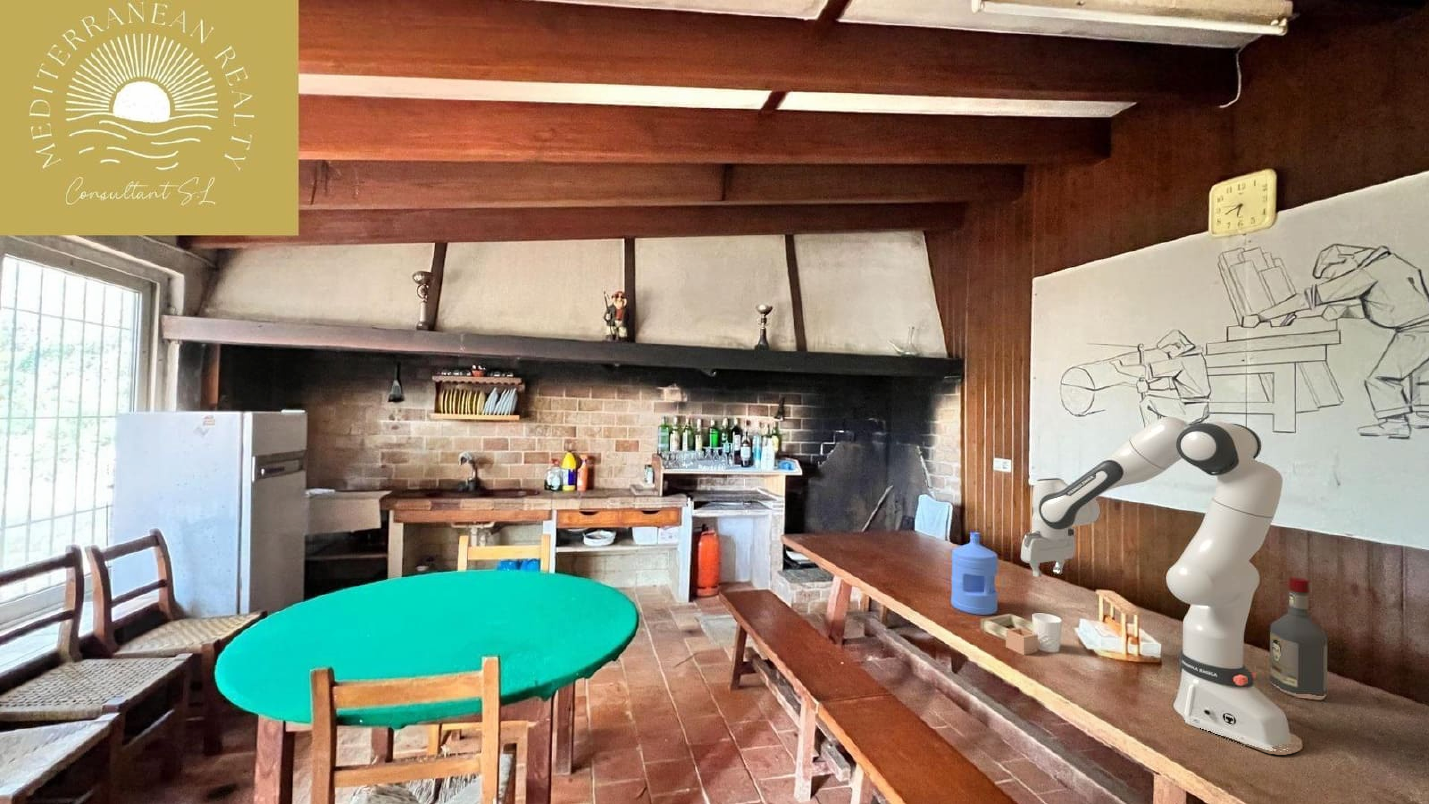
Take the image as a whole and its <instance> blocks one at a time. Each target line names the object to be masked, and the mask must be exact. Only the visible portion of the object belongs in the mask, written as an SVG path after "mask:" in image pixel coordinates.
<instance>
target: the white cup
mask: <svg viewBox="0 0 1429 804" xmlns="http://www.w3.org/2000/svg"><path fill="white" fill-rule="evenodd" d="M1031 617H1032V618H1031V619H1032V621H1031V622H1032V624H1033V633H1035V634H1038V650H1040V651H1043V652H1047V653H1059V651H1060V649H1061V648H1060V646H1061V638H1062V626H1063V625H1062V623H1063V620H1062V619H1061V618H1060V617H1058V616H1057V615H1054V614H1050V613H1043V612H1039V613H1037V612H1034V613H1032V614H1031Z"/></svg>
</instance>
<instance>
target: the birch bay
mask: <svg viewBox="0 0 1429 804" xmlns="http://www.w3.org/2000/svg"><path fill="white" fill-rule="evenodd" d="M1009 626H1012V627H1014V628H1018V627H1021V628H1023V629H1026V630H1028V631H1031V632H1033V624H1032V621H1030V620H1028V619H1025V618H1023V617H1020V616H1017V615H1015V614H1012V613H1006V614H1000V615H996V616H990V617H985V618H980V630H982V631H985V632H986V633H989V634H991V635H994V636H995V637H998V638H1000V639H1002V640H1005V641H1006V630H1008V629H1009V628H1007V627H1009Z"/></svg>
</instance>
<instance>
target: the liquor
mask: <svg viewBox="0 0 1429 804" xmlns="http://www.w3.org/2000/svg"><path fill="white" fill-rule="evenodd" d="M1309 584H1310V583H1309V580H1308V579H1304V578H1301V577H1292V576H1290V577H1288V590H1289V595H1288V599H1289V600H1288V602H1289V604H1288V609H1287V613H1286V614H1284V615H1282V616H1281V617H1279V618H1278V619H1276V620H1274V621H1272V622H1271V625H1270V630H1269V632H1270V633H1269V635H1270V636H1269V682H1270V681H1271V682H1272V683H1273V684H1275V685H1276V686H1279V687H1280V688H1281V689H1283V690H1286V691H1289V692H1292V693H1296V694H1311V695H1316V696H1324V695H1325V694H1327V695H1328V636H1327V635H1326V632H1325V631H1324V630H1322V628H1321V627H1319V625H1318V624H1317V623H1316V622H1315V621H1313V620H1312V618H1310V614H1309V609H1308V608H1309V597H1308V596H1309V595H1308V594H1309V592H1310V591H1309V589H1310V587H1309V586H1310V585H1309ZM1271 682H1270V683H1271Z"/></svg>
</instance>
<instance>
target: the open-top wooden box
mask: <svg viewBox="0 0 1429 804" xmlns="http://www.w3.org/2000/svg"><path fill="white" fill-rule="evenodd" d="M1005 648H1008V649H1010V650H1011V651H1013V652H1016V653H1018V654H1021V655H1023V656H1026V655H1030V654H1034V653H1038V650H1039V649H1038V634H1035V633H1033V632H1031V631H1028V630H1026V629H1023V628H1021V627H1018V628H1016V627H1014V628H1008V630H1006V640H1005Z"/></svg>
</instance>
